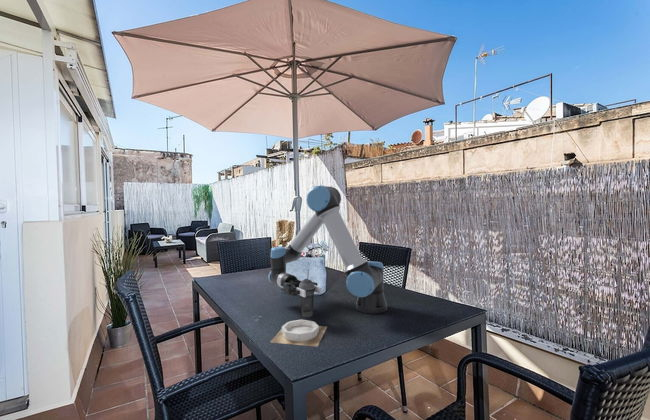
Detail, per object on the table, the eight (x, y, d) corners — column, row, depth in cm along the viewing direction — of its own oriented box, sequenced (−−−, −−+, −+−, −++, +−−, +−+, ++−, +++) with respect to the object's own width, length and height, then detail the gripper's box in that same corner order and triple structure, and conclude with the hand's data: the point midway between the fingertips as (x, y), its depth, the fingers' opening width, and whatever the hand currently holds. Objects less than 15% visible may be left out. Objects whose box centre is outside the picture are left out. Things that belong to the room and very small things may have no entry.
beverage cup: (307, 311, 139) (305, 266, 139) (319, 314, 134) (318, 268, 134) (295, 315, 133) (294, 269, 133) (308, 319, 129) (306, 271, 128)
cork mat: (327, 328, 128) (327, 326, 128) (317, 348, 110) (317, 346, 110) (285, 324, 131) (285, 323, 131) (270, 343, 114) (270, 342, 114)
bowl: (322, 329, 125) (322, 322, 124) (308, 344, 112) (308, 336, 112) (292, 325, 130) (292, 318, 129) (276, 338, 117) (276, 330, 117)
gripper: (305, 286, 154) (332, 296, 135) (268, 293, 143) (291, 306, 124) (305, 271, 154) (332, 279, 135) (268, 277, 143) (291, 287, 124)
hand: (312, 292), depth 130 cm, fingers closed on beverage cup, 7 cm apart
